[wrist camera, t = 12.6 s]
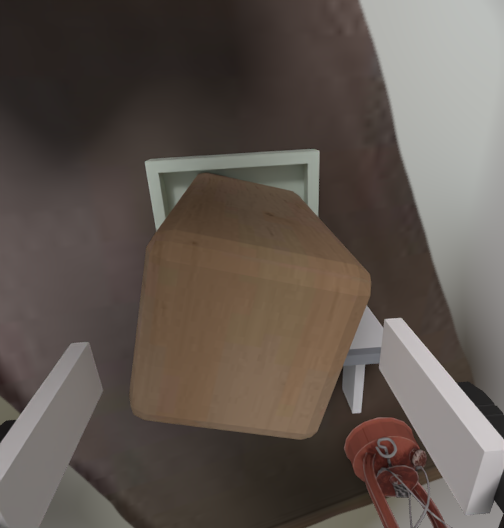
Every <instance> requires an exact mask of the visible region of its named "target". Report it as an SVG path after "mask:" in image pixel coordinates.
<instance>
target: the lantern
mask: <svg viewBox="0 0 504 528" xmlns="http://www.w3.org/2000/svg"><path fill="white" fill-rule="evenodd" d="M344 449H345V452H346V455H347V458H349V459H350V460H351V463H352V466H353V469H354V472H355V474H356V476H357V477H359V478H360V479H361V480H362V481H364V482H365V483H366V486H367V490H368V492H369V495H370V497H371V499H372V502H373V504H374V506H375V508H376V510H377V512H378V515H379V517H380V519H381V522H382V524H383V526H384V528H399V526H398V524H397V522H396V520H395V517H394V515H393V513H392V511H391V509H390V507H389V505H388V503H387V501H386V499H385V497H384V496H387V497H403V498H406V497H407V498H409V512H410V525H411V528H412V519H411V518H412V517H411V506H410V505H411V503H410V501H411V500H410V495H411V494H412V495H413V496H414V498H415V499H416V500H417V501H418V502H419V503H420V504H421V506H422V507H423V509H424V512H423V514H422V515H421V517H420V519H419V520H418V522H417V524H416V525H415V526H414V528H418V526H419V525H420V523H421V521H422V520H423V518H424V516H425V514H426V513H427V515H428V517H429V519H430V521H431V523H432V525H433V527H434V528H447V527H448V528H452V527H450V526H449V525H448V524H446V523H445V522H444V520H443V518H442V516H441V514H440V512H439V510H438V509H437V507H436V505H435V504H434V502H433V501H432V499H431V498H430V489H429V488H430V487H429V481H428V477H427V474H426V472H425V470H424V469H423V467H424V465H425V464H426V460H427V456H426V453H425V452H424V451H423V450H420V448H419V446H418V444H417V442H416V441H415V439H414V437H413V433H412V429H411V428H410V427H409V426H408V425H407V424H406V423H405V422H404V421H401V420H398V419H395V418H382V417H378V418H375V419H372V420H368V421H365V422H363V423H362V424H360V425H359V426H357V427H356V428H354V429H353V430H352V431H351V433H350V434H349V435H348V437H347V438H346V442H345V447H344ZM419 469H422V470H423V471H424V473H425V476H426V480H427V485H428V494H427V492H426V491H425V490H424V489H423V487H422V486H421V485H420V483H419V482H418V480H419V477H418V473H417V472H416V471H417V470H419Z"/></svg>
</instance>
